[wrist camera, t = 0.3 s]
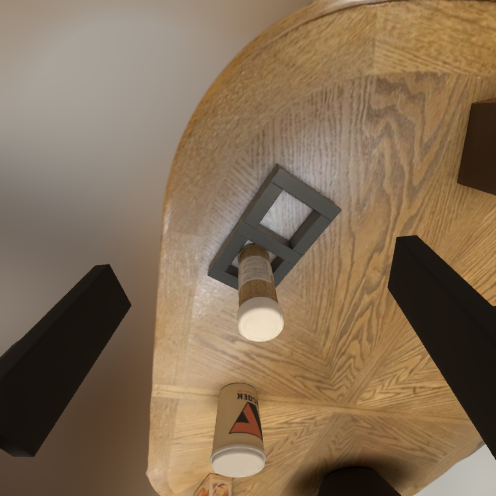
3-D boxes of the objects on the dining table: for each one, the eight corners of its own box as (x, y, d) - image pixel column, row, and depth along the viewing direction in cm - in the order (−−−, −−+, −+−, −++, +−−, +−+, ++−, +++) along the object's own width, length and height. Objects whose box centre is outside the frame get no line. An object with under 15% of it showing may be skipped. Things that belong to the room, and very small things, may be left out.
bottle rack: (276, 163, 30) (279, 167, 27) (334, 203, 32) (342, 209, 30) (209, 265, 36) (207, 275, 34) (262, 291, 39) (263, 302, 37)
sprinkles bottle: (264, 272, 37) (276, 346, 25) (234, 266, 36) (232, 340, 25) (272, 246, 35) (290, 313, 23) (241, 239, 34) (243, 305, 22)
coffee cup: (269, 392, 52) (277, 463, 41) (240, 411, 55) (240, 482, 44) (235, 374, 48) (234, 447, 38) (206, 396, 52) (198, 469, 41)
